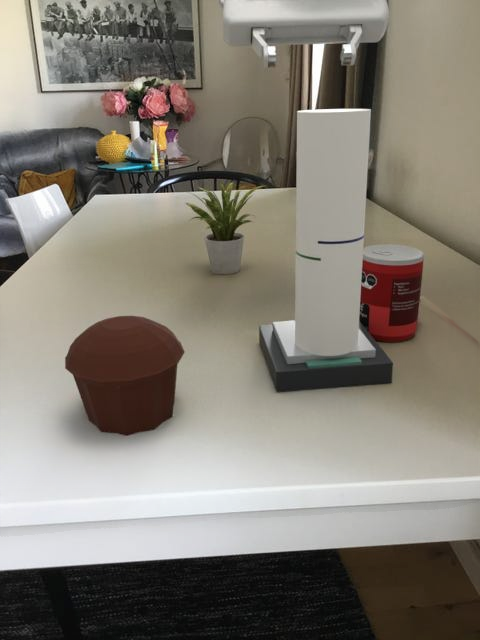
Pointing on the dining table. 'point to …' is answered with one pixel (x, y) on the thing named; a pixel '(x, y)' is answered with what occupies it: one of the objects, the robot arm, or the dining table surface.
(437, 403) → the dining table surface
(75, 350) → the muffin
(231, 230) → the house plant
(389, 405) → the dining table surface
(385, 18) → the robot arm
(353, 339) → the cylindrical container
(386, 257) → the canned food
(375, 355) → the kitchen scale
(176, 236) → the dining table surface
